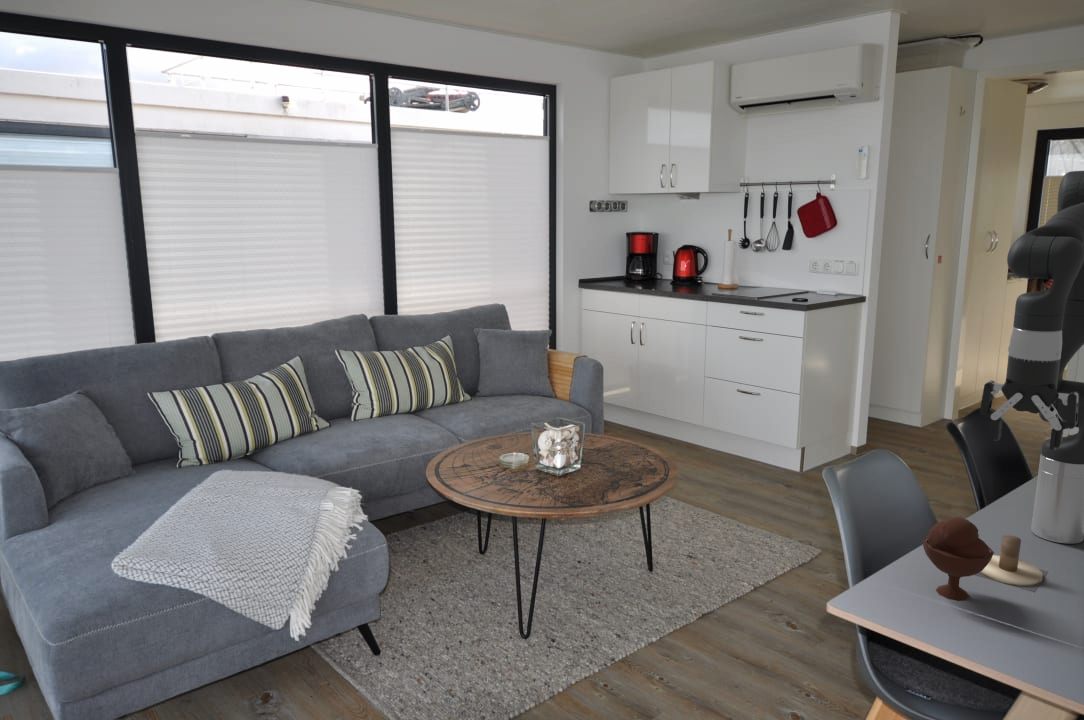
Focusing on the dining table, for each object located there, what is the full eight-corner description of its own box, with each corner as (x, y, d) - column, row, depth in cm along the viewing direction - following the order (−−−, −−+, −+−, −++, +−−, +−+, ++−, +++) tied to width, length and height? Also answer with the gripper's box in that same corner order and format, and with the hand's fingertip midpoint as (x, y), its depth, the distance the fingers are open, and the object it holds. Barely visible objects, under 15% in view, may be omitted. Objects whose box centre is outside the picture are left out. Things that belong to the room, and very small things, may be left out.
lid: (983, 553, 152) (987, 521, 151) (1048, 571, 145) (1052, 537, 143) (966, 572, 144) (970, 538, 143) (1034, 592, 137) (1038, 556, 136)
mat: (983, 555, 152) (983, 553, 152) (1047, 573, 145) (1048, 571, 145) (966, 574, 145) (966, 572, 144) (1034, 594, 137) (1034, 592, 137)
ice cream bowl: (1002, 607, 132) (1012, 526, 130) (944, 612, 131) (953, 530, 128) (959, 578, 143) (968, 503, 140) (905, 583, 141) (912, 507, 138)
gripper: (1088, 355, 128) (1076, 447, 132) (993, 345, 138) (984, 431, 142) (1080, 363, 123) (1068, 459, 127) (981, 352, 133) (973, 441, 136)
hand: (1024, 444), depth 134 cm, fingers open, 8 cm apart
